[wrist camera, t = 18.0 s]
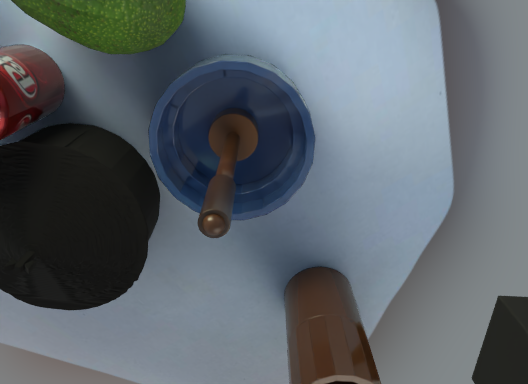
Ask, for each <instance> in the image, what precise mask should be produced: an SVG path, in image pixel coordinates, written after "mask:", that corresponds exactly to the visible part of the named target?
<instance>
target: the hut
mask: <svg viewBox="0 0 528 384" xmlns="http://www.w3.org/2000/svg"><path fill="white" fill-rule="evenodd" d="M159 204H160V193H159V188H158V185H157V181H156V178H155V175H154V173H153V172H152V170H151V168H150V167H149V165H148V163H147V162H146V160H145V159H144V158H143V157H142V156H141V155H140V154H139V153H138V152H137V150H136V149H135V148H134V147H133V146H132V145H130V144H129V143H128V142H126V141H125V140H124V139H122V138H121V137H120V136H118V135H116V134H114V133H112V132H109V131H107V130H105V129H103V128H100V127H97V126H93V125H83V124H74V123H64V124H58V125H53V126H48V127H45V128H43V129H41V130H39V131H37V132H35V133H33V134H31V135H30V136H28V137H26V138H24V139H22V140H21V141H19V142H14V143H9V144H6V145H2V146H0V289H1V290H2V291H4V292H6V293H9V294H10V295H12V296H13V297H15V298H16V299H18V300H21V301H23V302H25V303H28V304H31V305H34V306H38V307H44V308H53V309H62V310H82V309H89V308H92V307H98V306H101V305H103V304H106V303H109V302H110V301H112V300H115V299H116V298H118V297H120V296H121V295H122V294H124V293H125V292H127V290H128V289H129V288H131V287H132V285H133V283H134V281H137V280H138V278H139V275H140V273H141V272H142V269H143V267H144V264H145V261H146V258H147V252H148V240H149V238H150V236H151V234H152V232H153V229H154V227H155V225H156V223H157V220H158V216H159Z"/></svg>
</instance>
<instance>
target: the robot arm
mask: <svg viewBox="0 0 528 384" xmlns="http://www.w3.org/2000/svg"><path fill="white" fill-rule="evenodd" d="M472 380H473V381H474V383H475V384H528V297H515V296H498V298H497V302H496V304H495V308H494V311H493V314H492V317H491V320H490V323H489V326H488V329H487V332H486V335H485V339H484V341H483V345H482V348H481V351H480V354H479V357H478V360H477V363H476V366H475V370H474V372H473V375H472Z"/></svg>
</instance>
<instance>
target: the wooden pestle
mask: <svg viewBox="0 0 528 384" xmlns="http://www.w3.org/2000/svg"><path fill="white" fill-rule="evenodd" d="M208 139H209V144H210V146H211V148H212V150H213V151H214V153H215V154H216V155H217V156H219V157H220V161H219V165H218V168H217V172H216V176H214V177H213V178H212V179H211V180H210V182H209V185H208V188H207V192H206V195H205V198H204V202H203V205H202V208H201V212H200V215H199V218H198V227H199V230H200V231H201V232H202V233H203V234H204V235H205V236H207V237H210V238H219V237H222V236H224V235H225V234H226V233H227V232H228V231H229V228H230V224H231V217H232V210H233V204H234V197H235V190H236V184H235V182H234V180H233V178H234V172H235V166H236V161H241V160H244V159H246V158H248V157H249V156H250V155H251V154H252V153H253V152H254V151H255V149H256V147H257V144H258V125H257V123H256V121H255V119H254V118H253V116H252V115H251V114H250V113H248V112H247V111H245V110H242V109H239V108H230V109H226V110H224V111H222V112H220V113H219V114H218V115H217V116H216V117H215V118H214V120H213V122H212V125H211V127H210V130H209V135H208Z"/></svg>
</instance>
